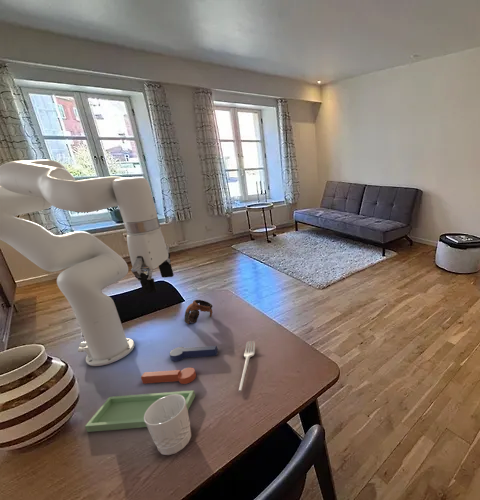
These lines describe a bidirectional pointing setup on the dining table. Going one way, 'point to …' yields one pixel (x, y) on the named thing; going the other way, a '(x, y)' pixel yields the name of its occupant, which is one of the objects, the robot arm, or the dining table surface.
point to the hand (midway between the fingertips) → (159, 284)
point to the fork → (247, 356)
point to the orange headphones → (196, 310)
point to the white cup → (169, 423)
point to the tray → (128, 411)
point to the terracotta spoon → (170, 376)
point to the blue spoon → (192, 352)
